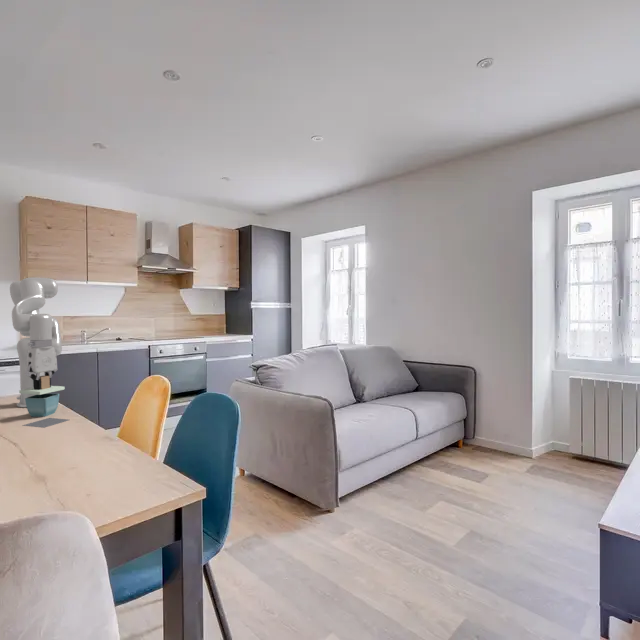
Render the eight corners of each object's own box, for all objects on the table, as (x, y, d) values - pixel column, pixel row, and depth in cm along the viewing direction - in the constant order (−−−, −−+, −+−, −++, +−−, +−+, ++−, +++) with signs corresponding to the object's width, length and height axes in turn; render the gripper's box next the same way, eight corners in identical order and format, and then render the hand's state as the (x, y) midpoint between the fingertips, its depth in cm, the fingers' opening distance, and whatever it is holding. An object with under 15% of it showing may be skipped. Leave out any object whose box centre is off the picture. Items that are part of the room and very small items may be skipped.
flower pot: (46, 420, 163) (45, 398, 163) (24, 420, 163) (24, 398, 163) (60, 414, 172) (60, 393, 172) (40, 414, 172) (39, 393, 172)
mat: (22, 428, 152) (22, 425, 152) (49, 420, 163) (49, 417, 163) (44, 430, 149) (44, 427, 149) (70, 422, 159) (70, 419, 159)
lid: (19, 393, 164) (19, 378, 163) (44, 388, 174) (44, 373, 174) (39, 394, 160) (39, 379, 160) (64, 389, 171) (64, 374, 171)
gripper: (28, 346, 158) (29, 392, 158) (66, 342, 174) (67, 385, 174) (14, 345, 160) (15, 391, 160) (52, 342, 176) (53, 384, 176)
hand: (42, 387), depth 167 cm, fingers closed on lid, 3 cm apart
